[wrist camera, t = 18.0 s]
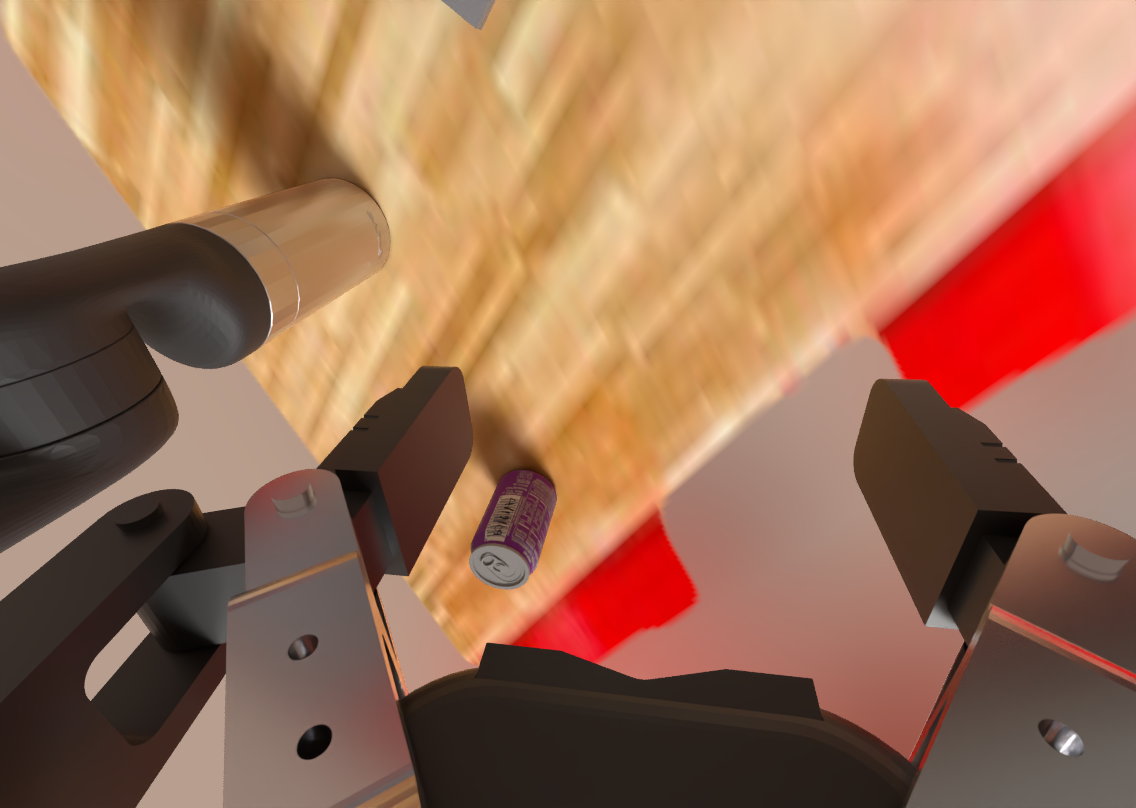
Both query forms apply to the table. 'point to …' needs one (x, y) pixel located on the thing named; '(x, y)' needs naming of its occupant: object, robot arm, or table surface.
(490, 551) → the beverage can
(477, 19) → the high shelf
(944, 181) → the table surface
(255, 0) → the table surface
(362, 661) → the robot arm
